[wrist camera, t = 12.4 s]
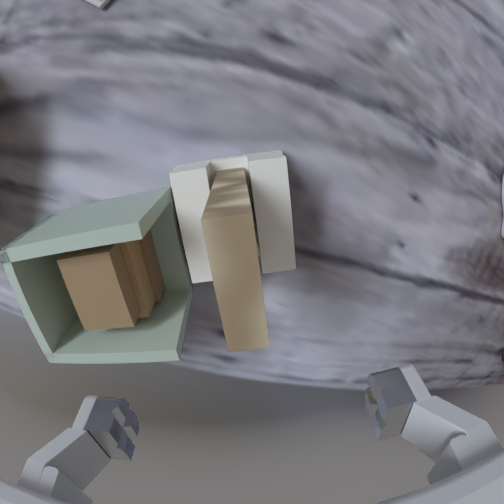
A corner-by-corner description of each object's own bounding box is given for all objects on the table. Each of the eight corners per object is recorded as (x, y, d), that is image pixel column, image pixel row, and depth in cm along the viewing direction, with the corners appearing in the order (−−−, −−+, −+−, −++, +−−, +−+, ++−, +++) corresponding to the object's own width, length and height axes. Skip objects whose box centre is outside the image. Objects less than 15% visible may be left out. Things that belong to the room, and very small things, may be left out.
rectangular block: (243, 167, 28) (252, 212, 14) (254, 246, 31) (269, 346, 18) (217, 170, 28) (200, 219, 14) (230, 250, 31) (228, 352, 18)
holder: (280, 150, 29) (289, 156, 24) (289, 245, 33) (299, 268, 28) (177, 165, 29) (165, 174, 24) (195, 258, 33) (189, 283, 28)
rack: (170, 187, 30) (138, 222, 20) (193, 292, 35) (179, 360, 25) (56, 211, 30) (-3, 251, 20) (87, 303, 35) (49, 362, 25)
